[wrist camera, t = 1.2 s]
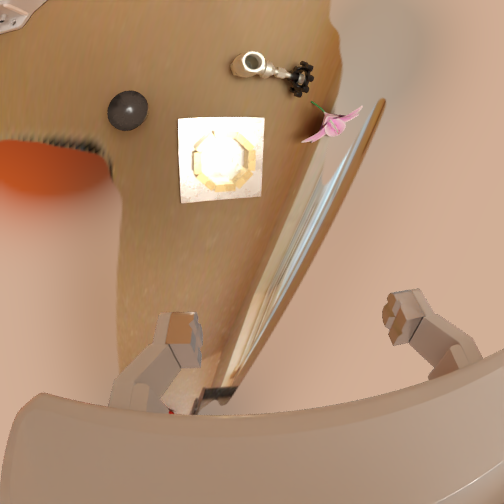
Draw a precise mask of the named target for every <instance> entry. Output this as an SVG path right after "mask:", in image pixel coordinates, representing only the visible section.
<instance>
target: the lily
mask: <svg viewBox="0 0 504 504" xmlns="http://www.w3.org/2000/svg"><path fill="white" fill-rule="evenodd" d="M311 103H313V104H314V105H316V106H317V107H318V108H320V109H321V110H322V111H323V112H324V114H325V116H324V119H323V122H322V125H321V128H320V131H319V132H318V133H316V134H315V135H313V136H311V137H309V138H308V139H306V140H304V141H302V142H309V141H312V140H313V141H312V142H314V141H316V140H318V139H320V138H321V137H323V136H324V135H326V134H327V135H328V136H337V135H339V134H341V133H342V132H343V131H344V129H345V127H346V124H345V122H348V121H350V120H351V119H353V118H355V117H356V116H358V115H359V114H357V113H358V112H359V111H360V110H361V109H362V107H363V106H361V107H359V108H357V109H356V110H355V111H353V112H351V113H350V114H348V115H346V116H344V115H336V114H328V113H326V112H325V111H324V110H323V109H322V108H321V107H320V106H318V105H317V104H315V103H314V102H312V101H311ZM312 142H311V143H312Z"/></svg>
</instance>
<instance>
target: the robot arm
mask: <svg viewBox="0 0 504 504" xmlns="http://www.w3.org/2000/svg"><path fill="white" fill-rule="evenodd" d="M45 1H46V0H0V34H2V33H6V32H10V31H14V30H18V29H20V28H22V27H23V26H24V25H25V23H26V22H27V21H28V19H29V18H30V16H31V15H32V13H33V12H34V11H35V10H37V9H38V8H39V7H40V6H41V5H42V4H43V3H44V2H45ZM14 23H16V24H15V25H14ZM387 300H388V303H387V304H386V305H385V306H384V308H383V311H382V318H383V323H384V325H385V327H387V328H388V329H389V334H388V335H389V337H390V339H391V342H392V344H393V346H395V345H399V344H405V343H409V344H410V345H411V346H412V347H413V348H414V349H415V350H416V351H417V352H418V353H419V354H420V355H421V356H422V357H423V358H425V359H426V360H427V361H428V362H429V363H430V364H431V365H432V366H433V367H434V369H433V370H432V371H431V373H430V374H429V376H428V379H429V381H426V382H423V383H420V384H417V385H414V386H410V387H407V388H404V389H400V390H397V391H393V392H389V393H386V394H382V395H378V396H374V397H370V398H365V399H361V400H356V401H351V402H347V403H341V404H336V405H330V406H325V407H318V408H311V409H304V410H296V411H287V412H277V413H265V414H248V415H181V414H169V409H168V408H167V407H166V406H165V404H164V403H163V402H162V401H161V400H160V398H161V397H162V395H163V394H164V393H165V391H166V390H167V389H168V387H169V386H170V384H171V383H172V382H173V380H174V379H175V377H176V376H177V375H178V373H179V372H180V371H181V368H201V357H202V354H201V351H200V348H201V347H202V345H203V332H202V327H201V324H200V323H198V315H197V312H161V313H160V314H159V316H158V321H157V325H156V329H155V334H154V338H153V343H152V344H149V345H148V346H147V347H146V348H145V349H144V350H143V351H142V352H141V353H140V354H139V355H138V356H137V357H136V358H135V359H134V360H133V361H132V362H131V363H130V364H129V365H128V366H127V367H126V368H125V369H124V370H123V371H122V372H121V373H120V374H119V375H118V377H117V378H116V379H115V380H114V383H113V387H112V391H111V396H110V400H109V405H108V407H106V406H101V405H95V404H90V403H85V402H80V401H76V400H71V399H67V398H63V397H59V396H55V395H52V394H48V393H39V394H38V395H36V396H35V397H33V398H32V399H31V400H30V401H29V402H28V403H26V404H25V406H23V407H22V408H21V409H20V410H19V412H18V413H17V415H16V417H15V419H14V422H13V424H12V427H11V431H10V434H9V437H8V441H7V446H6V450H5V455H4V460H3V465H2V473H1V482H0V504H504V349H502V350H500V351H498V352H496V353H494V354H492V355H490V356H488V357H486V358H484V359H483V357H482V355H481V353H480V351H479V350H478V347H477V346H476V344H475V342H474V340H473V338H472V337H470V336H469V335H468V334H466V333H465V332H463V331H462V330H460V329H459V328H457V327H456V326H454V325H453V324H451V323H450V322H449V321H447V320H446V319H444V318H443V317H441V316H440V315H438V314H435V313H434V312H433V310H432V308H431V306H430V305H429V303H428V301H427V299H426V298H425V296H424V294H423V293H422V291H421V290H420V289H412V290H405V291H399V292H394V293H390V294H389V295H388V297H387Z"/></svg>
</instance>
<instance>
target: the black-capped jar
mask: <svg viewBox="0 0 504 504" xmlns="http://www.w3.org/2000/svg"><path fill="white" fill-rule="evenodd" d="M148 113H149V107H148V104H147V101H146V99H145V98H144V96H142V95H141V94H140V93H138V92H136V91H124V92H122V93H119V94H118V95H116V96H115V97H114V98H113V99H112V101H111V102H110V104H109V107H108V113H107V114H108V119H109V121H110V123H111V124H112V126H114V127H115V128H116V129H119V130H123V131H128V130H132V129H135V128H136V127H138V126H139V125H141V124H142V123H143V121H144V120H145V119H146V118H147V116H148Z"/></svg>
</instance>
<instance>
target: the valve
mask: <svg viewBox="0 0 504 504" xmlns="http://www.w3.org/2000/svg"><path fill="white" fill-rule="evenodd" d="M245 62H246V63H247V65H248V67H247V66H246V63H245ZM300 65H302V67H297V66H296V67H295V68H294V71H292V70H291V71H290V72H286V69H284V68H280V67H277V68H275V66H273V64H272V62H270V61H266V60H264V57H263V55H262V53H259V52H254V51H248V52H246V53H242V54H239V55H238V56H237V57H236V58H235V59H234V61H233V62H232V63H231V64H230V68H231V71H232V73H233V75H234V76H239V77H244V78H245V77H252V76H254V75H256V74H259V75H260V77H263V78H268V77H269V76H272V75H274V77H277V78H281V79H283V78H285V77H286V78H287V80H288V81H290V82H291V83H292V84H293V86H294V87H293V88H292V87H290V92H292V93H294V96H296V97H301V96H302V92H305V93H307V92H308V91H309V87H308V83H309V81H310V82H312V81H313V79H314V77H313V76H312V75H310V72H311V71H312V70H313V66H312V65H309V64H308V63H307V62H304V61H301V63H300ZM303 71H304V72H305V76H304V75H303V74H301V73H302V72H303ZM298 83H299V84H302V83H303V84H302V85H298Z"/></svg>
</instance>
